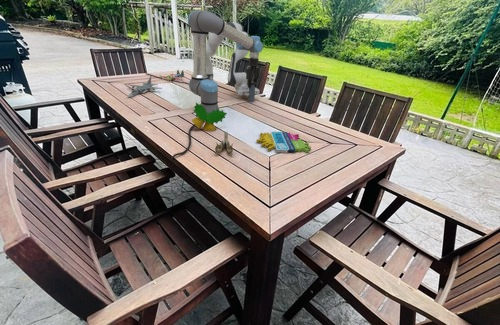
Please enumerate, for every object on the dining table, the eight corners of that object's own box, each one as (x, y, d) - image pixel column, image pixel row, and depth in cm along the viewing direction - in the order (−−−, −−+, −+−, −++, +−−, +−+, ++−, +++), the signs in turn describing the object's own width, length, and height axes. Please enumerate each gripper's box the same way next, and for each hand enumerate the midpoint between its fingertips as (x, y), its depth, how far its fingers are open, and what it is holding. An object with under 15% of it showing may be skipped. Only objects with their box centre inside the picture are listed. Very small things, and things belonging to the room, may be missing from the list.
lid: (251, 83, 220) (251, 80, 219) (257, 84, 217) (257, 82, 216) (247, 84, 215) (247, 81, 215) (253, 85, 213) (253, 83, 212)
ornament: (218, 133, 171) (224, 110, 169) (221, 134, 163) (227, 111, 161) (186, 125, 162) (192, 101, 160) (189, 126, 155) (195, 101, 153)
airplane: (121, 87, 235) (119, 76, 230) (157, 85, 248) (156, 74, 243) (125, 100, 206) (123, 87, 201) (166, 97, 219) (165, 85, 214)
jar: (248, 102, 221) (249, 83, 213) (248, 100, 225) (249, 82, 218) (254, 102, 221) (255, 83, 214) (254, 100, 226) (255, 82, 218)
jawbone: (234, 135, 144) (233, 125, 135) (233, 160, 138) (232, 151, 129) (217, 135, 144) (216, 125, 135) (216, 160, 138) (214, 150, 129)
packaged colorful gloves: (313, 150, 142) (258, 149, 139) (312, 153, 143) (258, 152, 140) (301, 132, 164) (254, 130, 161) (301, 134, 165) (254, 133, 162)
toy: (192, 71, 287) (179, 75, 261) (192, 77, 291) (180, 82, 265) (169, 68, 292) (154, 72, 266) (169, 75, 296) (155, 79, 270)
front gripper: (249, 59, 198) (247, 89, 209) (265, 57, 210) (262, 86, 221) (242, 57, 202) (240, 87, 214) (258, 56, 214) (256, 85, 226)
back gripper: (234, 87, 224) (241, 91, 214) (255, 86, 233) (262, 90, 222) (234, 94, 228) (240, 98, 217) (255, 93, 236) (262, 97, 225)
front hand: (252, 87), depth 217 cm, fingers closed on lid, 6 cm apart
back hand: (252, 94), depth 220 cm, fingers closed on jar, 5 cm apart
